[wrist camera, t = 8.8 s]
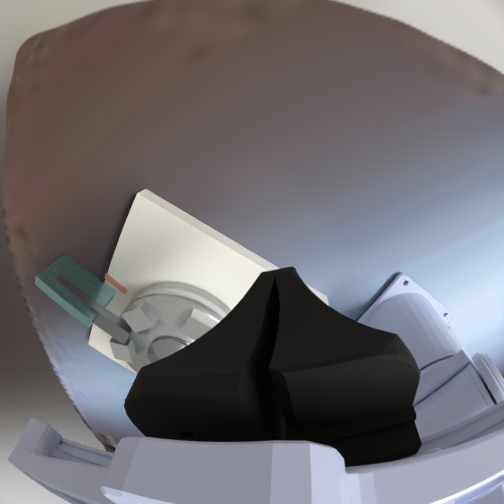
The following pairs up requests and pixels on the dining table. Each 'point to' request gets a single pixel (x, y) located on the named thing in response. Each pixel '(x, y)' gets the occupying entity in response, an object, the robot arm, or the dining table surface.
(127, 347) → the teal elongated tool
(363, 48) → the dining table surface
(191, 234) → the base plate
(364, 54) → the dining table surface
